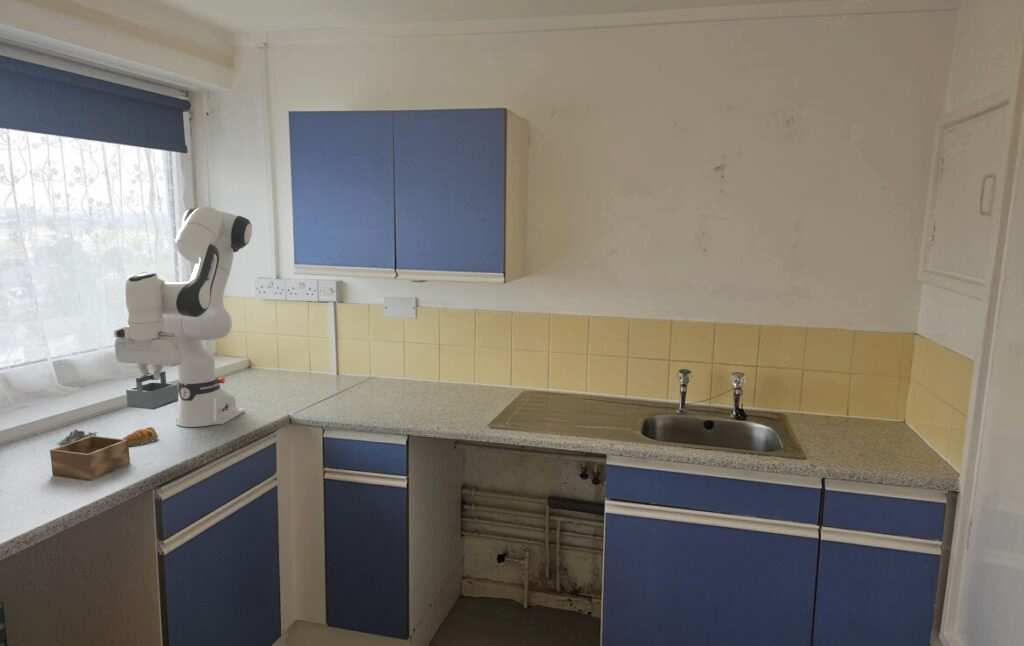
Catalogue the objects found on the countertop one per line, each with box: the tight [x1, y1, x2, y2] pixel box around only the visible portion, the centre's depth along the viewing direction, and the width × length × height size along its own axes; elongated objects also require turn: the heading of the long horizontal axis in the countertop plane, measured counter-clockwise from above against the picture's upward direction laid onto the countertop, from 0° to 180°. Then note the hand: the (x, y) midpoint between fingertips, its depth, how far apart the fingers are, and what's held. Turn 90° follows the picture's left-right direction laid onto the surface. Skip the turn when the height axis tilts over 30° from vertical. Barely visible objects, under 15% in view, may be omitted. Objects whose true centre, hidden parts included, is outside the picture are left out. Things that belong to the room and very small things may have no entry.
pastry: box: [122, 426, 159, 446], centre depth 203 cm, size 9×7×4 cm
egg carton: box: [56, 428, 99, 447], centre depth 199 cm, size 11×8×4 cm
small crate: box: [125, 370, 179, 411], centre depth 189 cm, size 9×9×9 cm
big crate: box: [49, 435, 131, 482], centre depth 180 cm, size 13×13×7 cm
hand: (151, 379), depth 188 cm, fingers closed on small crate
